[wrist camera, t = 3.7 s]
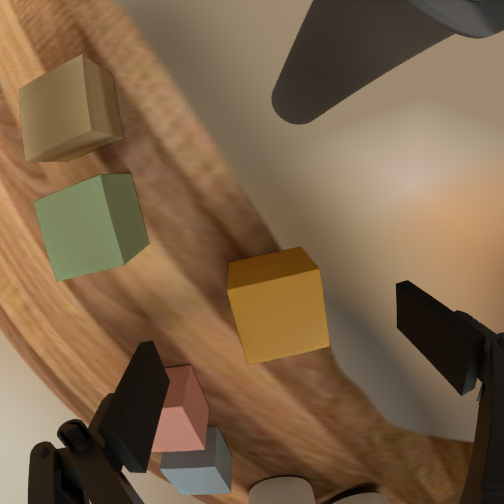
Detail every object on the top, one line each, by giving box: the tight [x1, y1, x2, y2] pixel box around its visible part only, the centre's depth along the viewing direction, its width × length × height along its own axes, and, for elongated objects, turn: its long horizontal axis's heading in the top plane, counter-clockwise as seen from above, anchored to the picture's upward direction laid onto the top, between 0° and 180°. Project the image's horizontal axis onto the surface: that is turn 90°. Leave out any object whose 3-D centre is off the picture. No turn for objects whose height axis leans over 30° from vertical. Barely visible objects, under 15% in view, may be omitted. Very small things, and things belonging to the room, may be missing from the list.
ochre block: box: [226, 247, 330, 365], centre depth 19 cm, size 5×5×5 cm
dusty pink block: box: [151, 365, 209, 452], centre depth 21 cm, size 5×5×5 cm
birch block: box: [19, 54, 124, 162], centre depth 15 cm, size 5×5×5 cm
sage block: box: [34, 174, 149, 282], centre depth 17 cm, size 5×5×5 cm
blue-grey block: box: [159, 426, 231, 495], centre depth 23 cm, size 5×5×5 cm
